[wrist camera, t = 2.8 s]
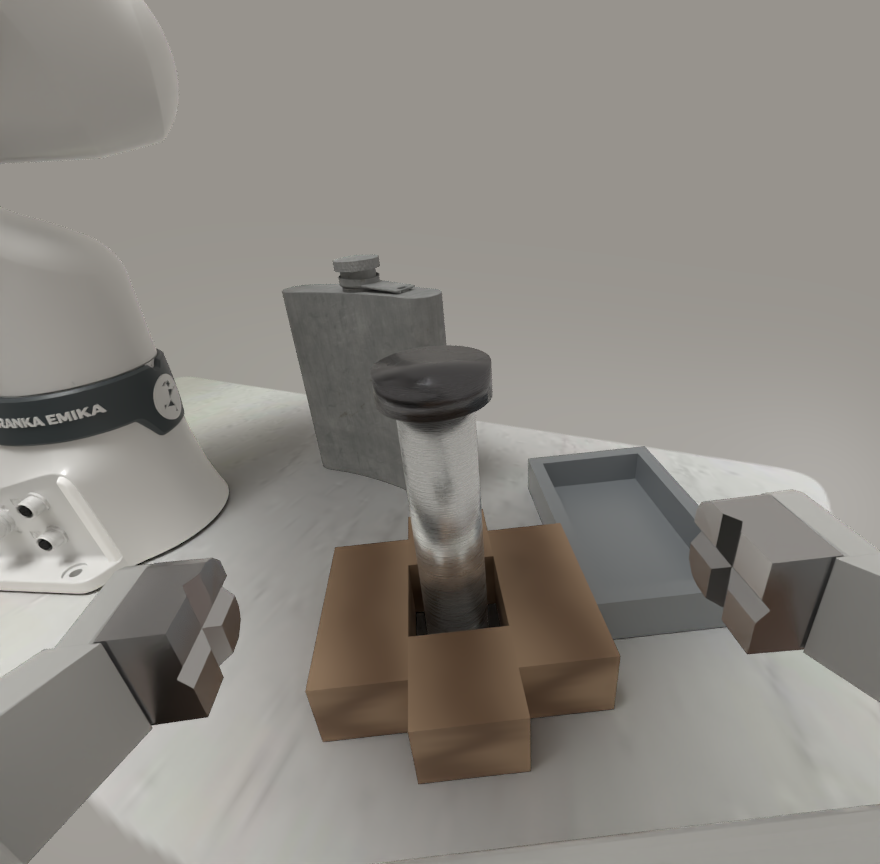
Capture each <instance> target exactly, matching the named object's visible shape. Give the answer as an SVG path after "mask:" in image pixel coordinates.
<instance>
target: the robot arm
mask: <svg viewBox="0 0 880 864" xmlns="http://www.w3.org/2000/svg"><path fill="white" fill-rule="evenodd" d="M178 98H179V86H178V75H177V70H176V66H175V62H174V58H173V55H172V51H171V49H170V46H169V44H168V41H167V39H166V37H165V34H164V33H163V31H162V29H161V27H160V25H159V23H158V21H157V20H156V18H155V17H154V15H153V13H152V12H151V10H150V9H149V7H148V6H147V5H146V3H145V2H144V1H143V0H0V164H5V163H24V162H42V161H62V160H79V159H100V158H104V157H107V156H112V155H116V154H120V153H124V152H128V151H132V150H136V149H139V148H142V147H146V146H149V145H153V144H157V143H160V142H163V141H164V139H165V138H166V137H167V135H168V134H169V132H170V130H171V128H172V125H173V123H174V120H175V117H176V113H177V108H178ZM228 495H229V488H228V485H227V483H226V482H225V480H224V479H223V478H222V477H221V476H220V475H219V473H218V472H217V471H216V470H215V468H214V467H213V465H212V464H211V463H210V461H209V460H208V458H207V457H206V455H205V453H204V452H203V450H202V448H201V447H200V445H199V443H198V442H197V440H196V438H195V436H194V434H193V432H192V431H191V429H190V427H189V425H188V423H187V421H186V419H185V416H184V409H183V405H182V401H181V397H180V394H179V391H178V389H177V386H176V383H175V381H174V378H173V375H172V373H171V370H170V368H169V365H168V363H167V361H166V358H165V356H164V353H163V352H162V351H161V350H158V349H156V348H155V345H154V342H153V340H152V337H151V334H150V332H149V329H148V326H147V323H146V321H145V318H144V315H143V313H142V310H141V308H140V305H139V302H138V300H137V297H136V294H135V292H134V289H133V286H132V284H131V281H130V278H129V276H128V273H127V270H126V268H125V266H124V265H123V263H122V262H121V261H120V259H119V258H118V257H117V256H116V254H115V253H113V252H112V251H111V250H110V249H109V248H108V247H107V246H105V245H104V244H102V243H101V242H99V241H98V240H96V239H94V238H92V237H90V236H88V235H85V234H83V233H80V232H77V231H74V230H71V229H69V228H66V227H63V226H60V225H56V224H53V223H50V222H46V221H44V220H39V219H36V218H32V217H28V216H25V215H21V214H18V213H15V212H12V211H10V210H7V209H5V208H3V207H1V206H0V590H6V591H29V592H52V593H74V594H82V593H88V592H91V591H93V590H96V589H98V588H100V587H102V586H103V585H104V586H103V587H102V589H101V590H100V591H99V592H98V594H97V595H96V596H95V597H94V599H93V600H92V601H91V602H90V604H89V605H88V606H87V607H86V609H85V610H84V611H83V612H82V614H81V615H80V616H79V617H78V619H77V620H76V621H75V622H74V624H73V625H72V626H71V627H70V629H69V630H68V631H67V633H66V634H65V635H64V636H63V638H62V639H61V640H60V641H59V643H58V644H57V645H56V646H55V648H52V649H44V650H42V651H40V652H39V653H37V654H36V655H34V656H33V657H31V658H30V659H28V660H27V661H25V662H24V663H22V664H21V665H19V666H18V667H16V668H15V669H13V670H12V671H10V672H8V673H7V674H5V675H4V676H2V677H1V678H0V864H28V863H29V861H30V860H31V859H32V858H33V857H34V856H35V855H36V854H37V853H38V852H39V851H40V849H41V848H42V847H43V846H44V845H45V844H46V843H47V842H48V841H49V840H50V839H51V838H52V837H53V835H54V834H55V833H56V832H57V831H58V830H59V829H60V828H61V827H62V826H63V825H64V824H65V822H66V821H67V820H68V819H69V818H70V817H71V816H72V815H73V814H74V813H75V812H76V811H77V809H78V808H79V807H80V806H81V805H82V804H83V803H84V802H85V801H86V800H87V799H88V798H89V797H90V795H91V794H92V793H93V792H94V791H95V790H96V789H97V788H98V787H99V786H100V785H101V784H102V782H103V781H104V780H105V779H106V778H107V777H108V776H109V775H110V774H111V773H112V772H113V771H114V769H115V768H116V767H117V766H118V765H119V764H120V763H121V762H122V761H123V760H124V759H125V758H126V757H127V755H128V754H129V753H130V752H131V751H132V750H133V749H134V748H135V747H136V746H137V745H138V744H139V742H140V741H141V740H142V739H143V738H144V737H145V736H146V735H147V734H148V733H149V732H150V731H151V729H152V726H151V725H158V724H165V723H172V722H178V721H185V720H192V719H199V718H206V717H208V716H209V713H210V711H211V708H212V706H213V703H214V701H215V698H216V696H217V693H218V690H219V688H220V685H221V683H222V680H223V678H224V677H223V675H222V672H221V670H220V668H219V666H220V665H221V664H222V663H223V662H224V661H225V660H226V659H227V658H228V657H229V656H230V655H231V654H232V653H233V652H234V649H235V646H236V644H237V641H238V638H239V630H240V621H241V618H240V611H239V606H238V603H237V600H236V598H235V595H233V594H232V593H230V592H229V591H227V590H226V589H225V588H223V587H222V585H223V583H224V581H225V579H226V576H227V575H226V573H225V571H224V568H223V566H222V564H221V562H220V561H219V560H217V559H214V558H205V559H194V560H184V561H173V562H162V563H154V564H144V565H137V564H139V563H141V562H143V561H145V560H147V559H150V558H152V557H154V556H157V555H159V554H161V553H163V552H165V551H167V550H169V549H171V548H173V547H175V546H177V545H179V544H180V543H182V542H184V541H185V540H187V539H189V538H190V537H192V536H193V535H195V534H196V533H197V532H199V531H200V530H201V529H203V528H204V527H205V526H206V525H208V524H209V523H210V522H211V521H212V520H213V519H214V518H215V517H216V516H217V515H218V514H219V512H220V511H221V510H222V508H223V507H224V505H225V503H226V501H227V499H228ZM694 522H695V523H696V525H697V526H698V527H699V529H700V530H701V532H700V533H699V534H698V535H697V536H696V538H695V539H694V540H693V541H692V542H691V544H690V552H689V562H690V568H691V573H692V576H693V578H694V580H695V582H696V585H697V587H698V588H699V589H700V591H701V592H702V594H703V595H704V596H705V598H706V599H708V600H710V601H712V602H714V603H715V604H717V605H719V606H721V607H723V610H722V618H721V620H722V621H723V622H724V624H725V625H726V626H727V628H728V629H729V631H730V632H731V633H732V635H733V636H734V637H735V639H736V640H737V641H738V643H739V644H740V645H741V647H742V648H743V649H744V651H745V652H746V653H747V654H757V653H768V652H779V651H791V650H802V649H804V651H803V653H805V654H807V655H808V656H810V657H811V658H813V659H814V660H816V661H817V662H819V663H820V664H822V665H823V666H825V667H826V668H828V669H829V670H831V671H832V672H834V673H835V674H837V675H839V676H840V677H842V678H843V679H845V680H846V681H848V682H849V683H851V684H852V685H854V686H855V687H857V688H858V689H860V690H861V691H863V692H864V693H866V694H867V695H869V696H871V697H872V698H874V699H875V700H877V701H878V702H880V550H879V549H878V548H876V547H875V546H874V545H872V544H871V543H870V542H868V541H867V540H866V539H864V538H863V537H862V536H860V535H859V534H858V533H856V532H855V531H854V530H852V529H851V528H849V527H848V526H847V525H846V524H844V523H843V522H842V521H840V520H839V519H838V518H836V517H835V516H834V515H832V514H831V513H830V512H828V511H827V510H826V509H824V508H823V507H822V506H820V505H819V504H818V503H816V502H815V501H814V500H812V499H811V498H810V497H808V496H807V495H806V494H804V493H802V492H799V491H796V490H793V489H792V490H785V491H778V492H771V493H764V494H761V495H755V496H747V497H738V498H730V499H722V500H713V501H705V502H701V504H700V505H699V507H698V508H697V510H696V515H695V521H694ZM374 864H880V804H875V805H866V806H858V807H849V808H841V809H832V810H824V811H815V812H807V813H798V814H790V815H781V816H773V817H764V818H755V819H747V820H738V821H730V822H721V823H713V824H704V825H696V826H687V827H679V828H670V829H662V830H653V831H645V832H636V833H628V834H619V835H611V836H602V837H593V838H585V839H576V840H568V841H559V842H551V843H543V844H534V845H526V846H517V847H509V848H500V849H492V850H483V851H475V852H467V853H458V854H450V855H441V856H433V857H424V858H416V859H408V860H399V861H391V862H382V863H374Z"/></svg>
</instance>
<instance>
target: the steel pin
mask: <svg viewBox="0 0 880 864" xmlns="http://www.w3.org/2000/svg"><path fill="white" fill-rule="evenodd" d="M491 372H492V371H491V359H490V357H489V355H487V354H486V353H484V352H483V351H480V350H477V349H474V348H470V347H463V346H428V347H420V348H414V349H409V350H405V351H401V352H398V353H395V354H392V355H389V356H387V357H385V358H383V359H381V360H379V361H378V362H376V363H375V364H374V365H373V366H372V368H371V370H370V375H371V381H372V387H373V393H374V399H375V405H376V408H377V410H378V411H379V412H380V413H381V414H383V415H385V416H386V417H389V418H391V419H395V420H396V422H397V428H398V435H399V442H400V449H401V456H402V462H403V469H404V476H405V483H406V489H407V496H408V503H409V510H410V516H411V523H412V530H413V537H414V544H415V550H416V557H417V564H418V571H419V577H420V584H421V591H422V598H423V604H424V611H425V618H426V625H427V631H428V635H430V634H439V633H448V632H457V631H466V630H475V629H484V628H489V622H488V606H487V590H486V574H485V558H484V542H483V526H482V510H481V494H480V478H479V462H478V446H477V430H476V414H475V411H477V410H479V409H481V408H482V407H484V406H485V405H486V404H487V403H488V402H489V401H490V400H491V398H492V373H491Z"/></svg>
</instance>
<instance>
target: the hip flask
mask: <svg viewBox="0 0 880 864" xmlns="http://www.w3.org/2000/svg"><path fill="white" fill-rule="evenodd" d="M333 265H334V271H335V272H340V276H339V283H340V284H318V285H301V286H295V287H291V288H287V289H284V290H283V291H282V293H283V298H284V302H285V306H286V310H287V315H288V318H289V323H290V327H291V332H292V336H293V340H294V344H295V348H296V353H297V357H298V361H299V365H300V369H301V374H302V378H303V382H304V386H305V391H306V395H307V399H308V403H309V407H310V412H311V416H312V420H313V424H314V428H315V433H316V437H317V441H318V445H319V449H320V454H321V458H322V462H323V466H324V467H325V468H328V469H333V470H339V471H345V472H350V473H355V474H359V475H364V476H367V477H371V478H374V479H378V480H381V481H384V482H387V483H390V484H393V485H396V486H398V487H401V488H403V489H406V483H405V476H404V469H403V462H402V456H401V449H400V442H399V435H398V428H397V422H396V420H395V419H391V418H389V417H386V416H385V415H383V414H381V413H380V412H379V411H378V410H377V408H376V405H375V399H374V393H373V387H372V381H371V375H370V370H371V368H372V366H373V365H374V364H375V363H376V362H378V361H379V360H381V359H383V358H385V357H387V356H389V355H392V354H395V353H398V352H401V351H405V350H409V349H414V348H420V347H428V346H446V336H445V325H444V313H443V301H442V291H440V290H438V289H430V288H420V287H419V288H418V287H415V285H410V284H403V283H396V282H389V281H382V280H380V279H379V273H377V272H376V270H375V268H377V267H379V266H380V264H379V256H378V255H354V256H348V257H343V258H339V259H335V260H333ZM406 490H407V489H406Z"/></svg>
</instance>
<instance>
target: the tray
mask: <svg viewBox="0 0 880 864" xmlns="http://www.w3.org/2000/svg"><path fill="white" fill-rule="evenodd" d="M528 489H529V491H530V494H531V496H532V499H533V501H534V504H535V506H536V509H537V511H538V514H539V516H540V519H541V521H542V524H543V525H546V524H555V523H561V525H562V528H563V530H564V532H565V534H566V537H567V539H568V541H569V543H570V545H571V548H572V550H573V552H574V554H575V557H576V559H577V561H578V563H579V565H580V568H581V570H582V572H583V574H584V577H585V579H586V581H587V583H588V585H589V588H590V590H591V592H592V594H593V596H594V599H595V601H596V603H597V605H598V608H599V610H600V612H601V614H602V616H603V619H604V621H605V623H606V625H607V628H608V630H609V632H610V634H611V636H612V639H621V638H630V637H638V636H647V635H656V634H665V633H674V632H683V631H692V630H701V629H710V628H719V627H727V626H726V625H725V624H724V622H723V621H722V620H721V618H722V610H723V607H721V606H719V605H717V604H715V603H714V602H712V601H710V600H708V599H706V598H705V596H704V595H703V594H702V592H701V591H700V589H699V588H698V587H697V585H696V582H695V580H694V578H693V576H692V573H691V568H690V562H689V552H690V544H691V542H692V541H693V540H694V539H695V538H696V536H697V535H698V534H699V533H700V532H701V530H700V529H699V527H698V526H697V525H696V523H695V522H694V521H695V515H696V510H697V508H698V507H699V506H698V504H697V503H696V502H695V501H694V500H693V499H692V498H691V497H690V496H689V495H688V493H687V492H686V491H685V490H684V489H683V488H682V487H681V486H680V485H679V484H678V482H677V481H676V480H675V479H674V478H673V477H672V476H671V475H670V474H669V473H668V472H667V470H666V469H665V468H664V467H663V466H662V465H661V464H660V463H659V462H658V461H657V459H656V458H655V457H654V456H653V455H652V454H651V453H650V452H649V451H648V450H647V448H646V447H645V446H642V447H633V448H624V449H615V450H605V451H596V452H587V453H577V454H568V455H559V456H550V457H540V458H531V459H528Z"/></svg>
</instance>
